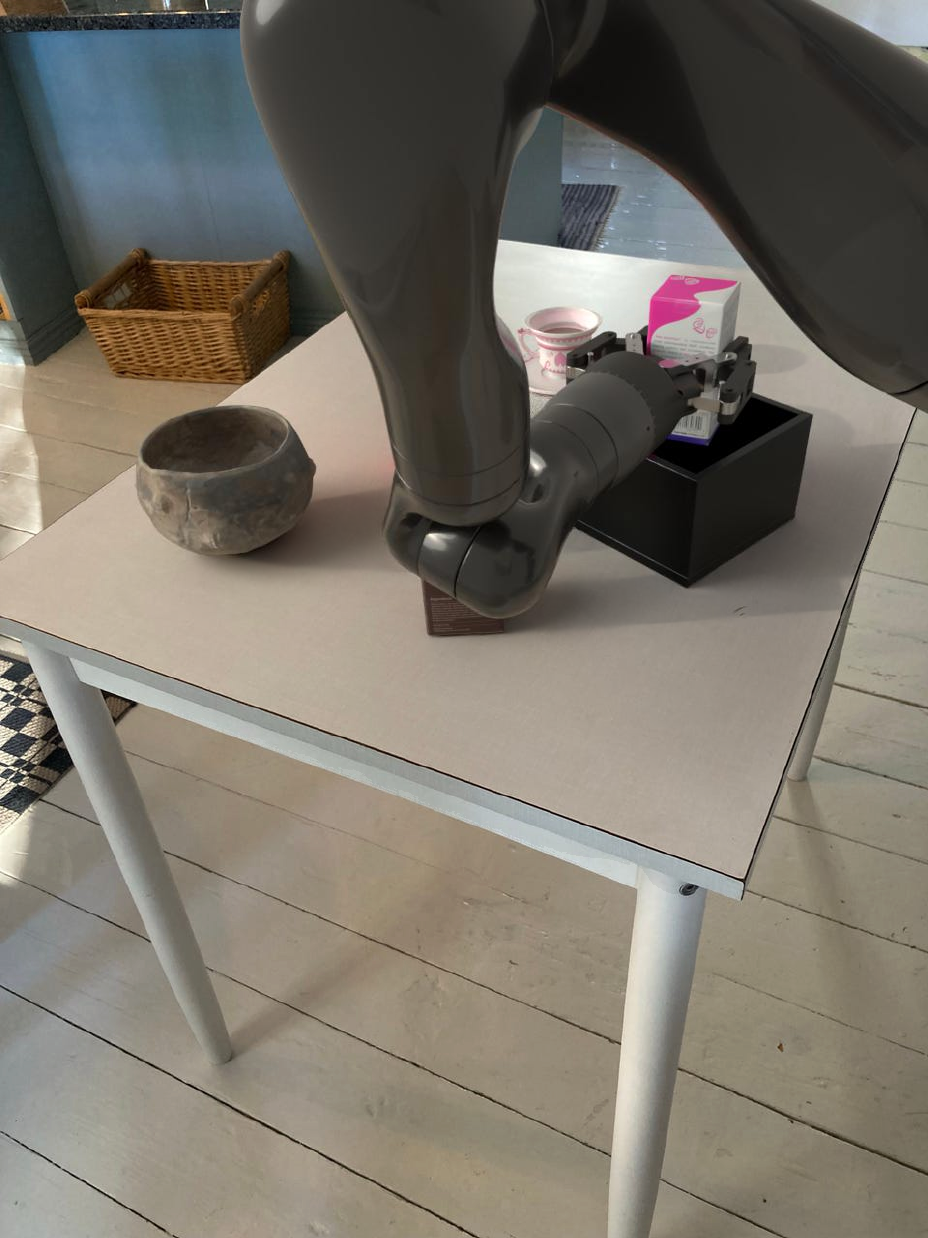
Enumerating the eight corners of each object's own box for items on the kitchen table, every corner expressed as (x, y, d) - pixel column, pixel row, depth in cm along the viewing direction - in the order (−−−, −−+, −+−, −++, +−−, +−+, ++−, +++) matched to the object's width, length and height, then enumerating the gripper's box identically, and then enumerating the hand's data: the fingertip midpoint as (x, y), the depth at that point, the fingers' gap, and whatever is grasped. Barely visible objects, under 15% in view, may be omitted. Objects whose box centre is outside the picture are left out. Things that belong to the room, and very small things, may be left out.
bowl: (131, 533, 91) (100, 436, 85) (278, 474, 98) (259, 380, 92) (197, 604, 82) (168, 501, 76) (354, 533, 89) (339, 433, 83)
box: (503, 635, 77) (500, 557, 72) (426, 638, 77) (417, 561, 72) (502, 587, 82) (499, 512, 77) (429, 590, 82) (421, 515, 77)
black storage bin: (794, 517, 87) (813, 414, 81) (686, 588, 80) (697, 481, 74) (665, 459, 96) (673, 362, 90) (558, 519, 89) (558, 418, 83)
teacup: (608, 348, 117) (610, 296, 113) (624, 394, 107) (626, 339, 103) (506, 354, 117) (504, 303, 113) (513, 401, 107) (511, 346, 104)
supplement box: (726, 415, 83) (744, 279, 76) (708, 447, 79) (726, 306, 72) (658, 404, 85) (670, 270, 78) (637, 435, 81) (648, 297, 74)
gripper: (705, 397, 63) (797, 309, 74) (514, 353, 70) (623, 278, 81) (694, 498, 68) (782, 401, 79) (516, 448, 75) (619, 365, 85)
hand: (701, 339), depth 80 cm, fingers closed on supplement box, 6 cm apart
